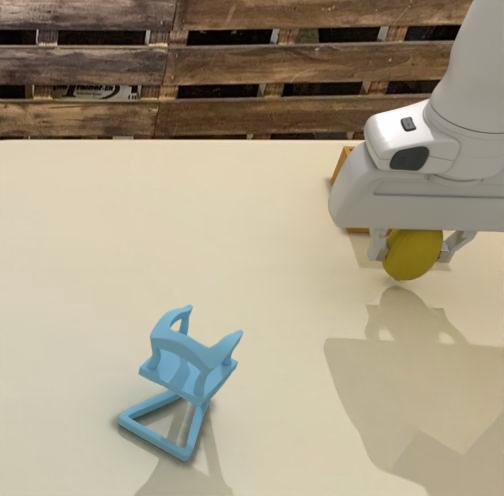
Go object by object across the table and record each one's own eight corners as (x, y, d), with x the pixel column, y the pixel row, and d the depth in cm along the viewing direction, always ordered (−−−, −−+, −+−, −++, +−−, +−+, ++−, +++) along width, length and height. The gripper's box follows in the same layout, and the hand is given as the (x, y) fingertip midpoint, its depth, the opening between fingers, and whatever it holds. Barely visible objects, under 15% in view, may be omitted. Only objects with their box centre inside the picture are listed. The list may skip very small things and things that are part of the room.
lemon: (387, 257, 101) (416, 193, 95) (432, 280, 99) (465, 216, 92) (361, 279, 99) (389, 215, 92) (406, 303, 97) (438, 239, 90)
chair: (230, 413, 87) (265, 317, 77) (185, 463, 83) (216, 368, 74) (162, 377, 90) (188, 279, 80) (116, 423, 86) (137, 327, 76)
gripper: (565, 122, 87) (495, 243, 98) (351, 116, 87) (307, 237, 99) (588, 159, 83) (513, 280, 94) (365, 153, 84) (317, 274, 95)
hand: (406, 258), depth 97 cm, fingers closed on lemon, 5 cm apart
